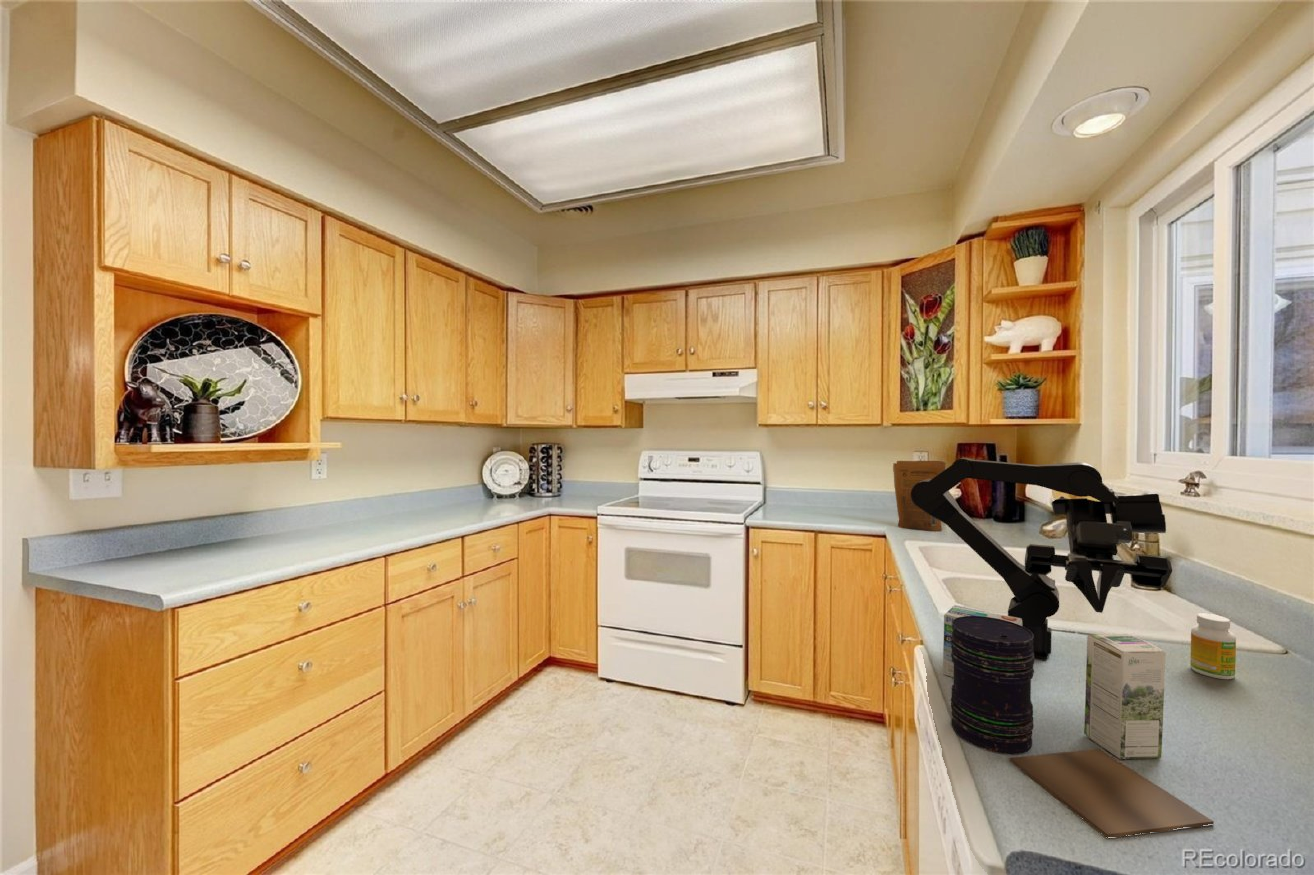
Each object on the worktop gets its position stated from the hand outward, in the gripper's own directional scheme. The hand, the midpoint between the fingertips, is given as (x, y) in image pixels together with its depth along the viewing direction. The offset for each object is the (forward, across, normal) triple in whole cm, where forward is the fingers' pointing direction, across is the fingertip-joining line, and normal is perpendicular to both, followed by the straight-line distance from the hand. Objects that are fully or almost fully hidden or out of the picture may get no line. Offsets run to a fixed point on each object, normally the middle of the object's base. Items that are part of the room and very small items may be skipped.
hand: (1099, 611), depth 85 cm
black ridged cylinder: (+25, -15, -5) cm, 29 cm away
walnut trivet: (+30, -4, -11) cm, 32 cm away
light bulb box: (+12, -16, +8) cm, 21 cm away
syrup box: (+21, 0, -2) cm, 21 cm away
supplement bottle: (-4, +19, +23) cm, 30 cm away
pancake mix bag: (-83, -35, +102) cm, 136 cm away
